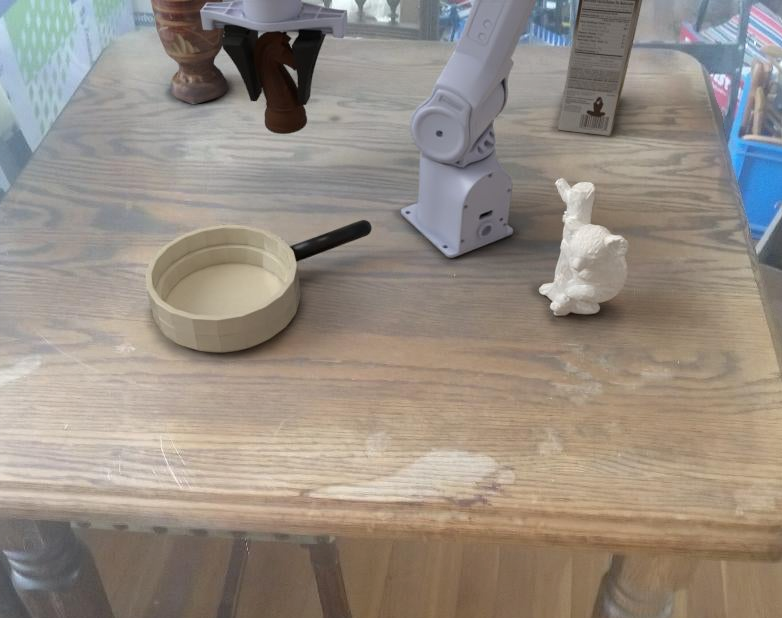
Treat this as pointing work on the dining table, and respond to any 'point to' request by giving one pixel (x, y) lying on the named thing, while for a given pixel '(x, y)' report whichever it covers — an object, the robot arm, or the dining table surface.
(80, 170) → the dining table surface
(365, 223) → the pan handle
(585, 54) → the coffee box
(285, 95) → the chess piece
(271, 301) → the pan
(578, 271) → the koala figurine
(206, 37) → the painted clay vase
